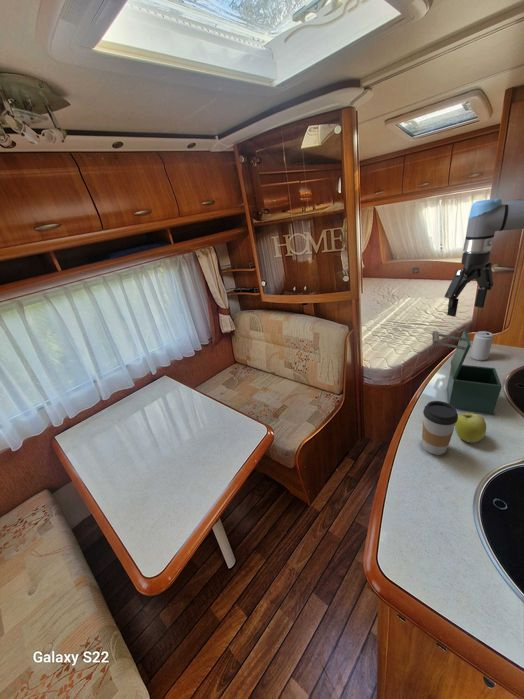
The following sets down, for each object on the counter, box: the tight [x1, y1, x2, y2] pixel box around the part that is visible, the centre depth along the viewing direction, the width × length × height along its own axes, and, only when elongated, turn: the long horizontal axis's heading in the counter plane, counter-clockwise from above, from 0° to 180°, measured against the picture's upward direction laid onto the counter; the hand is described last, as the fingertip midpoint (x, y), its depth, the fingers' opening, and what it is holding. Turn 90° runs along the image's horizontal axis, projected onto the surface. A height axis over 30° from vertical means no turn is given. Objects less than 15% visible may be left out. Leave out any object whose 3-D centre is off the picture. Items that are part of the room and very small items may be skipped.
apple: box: [454, 412, 487, 443], centre depth 83 cm, size 8×8×10 cm
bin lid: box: [431, 329, 472, 379], centre depth 94 cm, size 13×12×10 cm
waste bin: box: [446, 364, 503, 416], centre depth 96 cm, size 13×12×12 cm
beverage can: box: [469, 330, 494, 361], centre depth 119 cm, size 6×6×12 cm
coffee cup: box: [421, 400, 459, 456], centre depth 80 cm, size 8×8×15 cm
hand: (465, 311), depth 100 cm, fingers open, 13 cm apart
